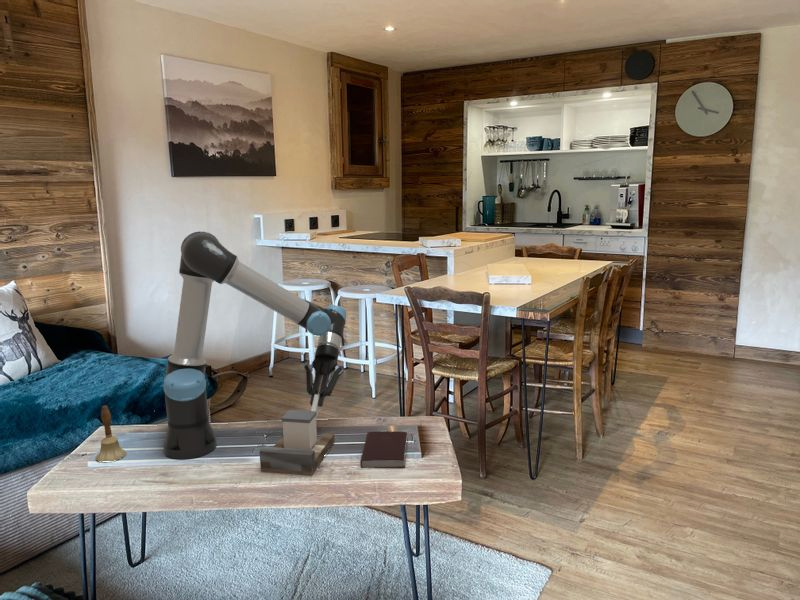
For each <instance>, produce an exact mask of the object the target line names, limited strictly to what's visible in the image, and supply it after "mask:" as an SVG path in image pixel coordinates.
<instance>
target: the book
mask: <svg viewBox="0 0 800 600" xmlns="http://www.w3.org/2000/svg"><path fill="white" fill-rule="evenodd" d="M407 436H408V432H407V431H390V430H389V431H385V430H384V431H368V432H367V434H366V436H365V442H364V445H363V449H362V453H361V457H360V461H359V462H360V467H361V468H373V469H376V468H377V469H404V468H406V457H405V455H404V454H405V445H406V438H408V437H407ZM406 446H407V445H406Z"/></svg>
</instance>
